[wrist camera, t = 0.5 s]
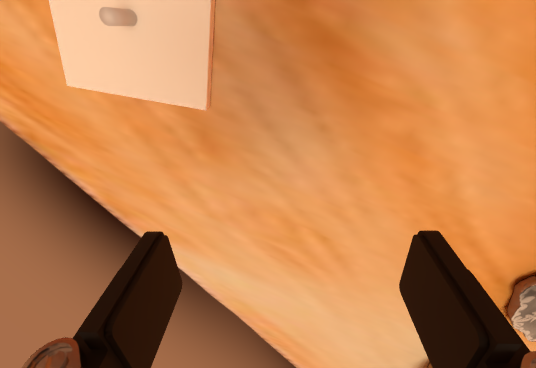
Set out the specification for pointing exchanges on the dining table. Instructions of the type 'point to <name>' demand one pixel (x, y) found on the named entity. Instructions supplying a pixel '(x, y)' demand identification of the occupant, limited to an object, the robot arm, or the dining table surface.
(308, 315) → the dining table surface
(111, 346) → the robot arm
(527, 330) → the grey stone plate
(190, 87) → the post board
